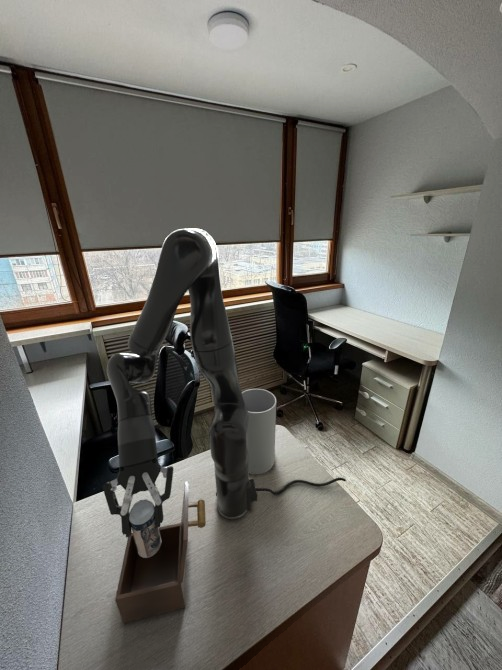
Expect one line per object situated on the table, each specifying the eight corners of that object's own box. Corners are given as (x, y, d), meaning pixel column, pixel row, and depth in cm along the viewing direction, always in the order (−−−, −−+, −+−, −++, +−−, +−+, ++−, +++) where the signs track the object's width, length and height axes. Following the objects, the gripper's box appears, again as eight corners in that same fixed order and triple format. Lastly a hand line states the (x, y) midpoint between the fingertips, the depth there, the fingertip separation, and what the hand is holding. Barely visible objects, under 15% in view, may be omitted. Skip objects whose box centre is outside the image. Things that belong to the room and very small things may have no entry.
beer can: (154, 561, 55) (145, 523, 50) (133, 556, 55) (122, 518, 51) (165, 536, 59) (158, 499, 54) (146, 532, 60) (137, 495, 55)
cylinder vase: (281, 460, 93) (284, 400, 83) (256, 482, 85) (255, 419, 75) (256, 440, 101) (256, 384, 92) (231, 459, 93) (227, 399, 84)
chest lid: (183, 540, 49) (207, 537, 50) (185, 481, 60) (204, 480, 61) (178, 583, 54) (200, 579, 55) (181, 521, 65) (199, 519, 66)
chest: (123, 623, 55) (114, 600, 52) (135, 556, 66) (128, 533, 63) (185, 607, 57) (181, 584, 54) (186, 544, 68) (182, 522, 65)
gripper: (95, 448, 53) (97, 550, 47) (170, 431, 57) (181, 523, 51) (105, 448, 60) (108, 538, 54) (171, 433, 64) (181, 515, 58)
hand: (144, 530), depth 52 cm, fingers closed on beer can, 4 cm apart
